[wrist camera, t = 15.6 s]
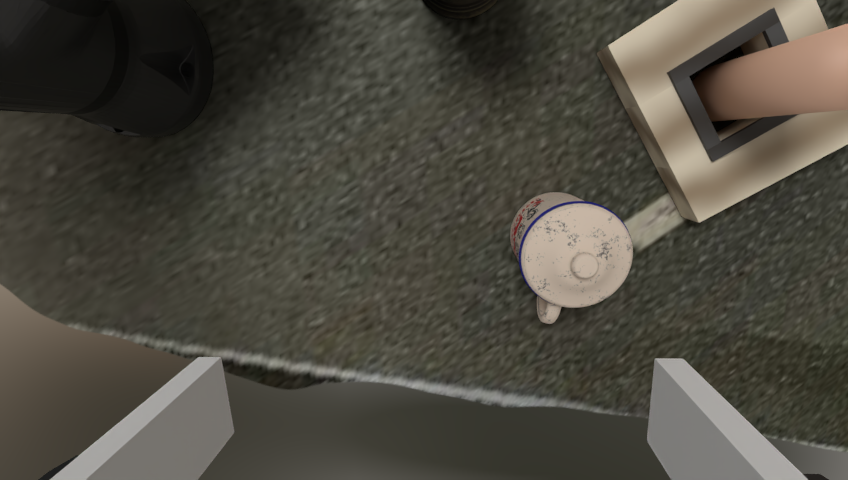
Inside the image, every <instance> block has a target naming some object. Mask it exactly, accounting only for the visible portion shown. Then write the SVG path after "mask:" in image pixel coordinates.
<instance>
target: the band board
mask: <svg viewBox="0 0 848 480" xmlns="http://www.w3.org/2000/svg"><path fill="white" fill-rule="evenodd" d="M826 30H828V27H827V25H826V23H825V20H824V18H823V16H822V13H821V11H820V8H819V6H818V4H817V1H816V0H678V1H676V2H675V3H673V4H672V5H670V6H669V7H667V8H666V9H664V10H662V11H661V12H659V13H658V14H656V15H655V16H653V17H652V18H650V19H649V20H647V21H645V22H644V23H642V24H641V25H639V26H638V27H636V28H635V29H633V30H632V31H630V32H628V33H627V34H625V35H624V36H622V37H621V38H619V39H618V40H616V41H614V42H613V43H611V44H610V45H608V46H607V47H605V48H604V49H602V50H601V51H599V52H598V53H596V54H597V56H598V58H599V59H600V61H601V63H602V65H603V67H604V69H605V71H606V73H607V75H608V77H609V79H610V81H611V82H612V84H613V86H614V88H615V90H616V92H617V94H618V96H619V98H620V100H621V102H622V104H623V105H624V107H625V109H626V111H627V113H628V115H629V117H630V119H631V121H632V123H633V125H634V127H635V128H636V130H637V132H638V134H639V136H640V138H641V140H642V142H643V144H644V146H645V148H646V149H647V151H648V153H649V155H650V157H651V159H652V161H653V163H654V165H655V167H656V169H657V171H658V172H659V174H660V176H661V178H662V180H663V182H664V184H665V186H666V188H667V190H668V192H669V194H670V195H671V197H672V199H673V201H674V203H675V205H676V207H677V209H678V211H679V213H680V215H681V217H683V218H686V219H689V220H692V221H695V222H698V223H700V222H702V221H703V220H705V219H707V218H709V217H711V216H713V215H715V214H717V213H719V212H720V211H722V210H724V209H726V208H728V207H730V206H732V205H734V204H736V203H737V202H739V201H741V200H743V199H745V198H747V197H749V196H751V195H753V194H755V193H756V192H758V191H760V190H762V189H764V188H766V187H768V186H770V185H772V184H773V183H775V182H777V181H779V180H781V179H783V178H785V177H787V176H789V175H790V174H792V173H794V172H796V171H798V170H800V169H802V168H804V167H806V166H807V165H809V164H811V163H813V162H815V161H817V160H819V159H821V158H823V157H824V156H826V155H828V154H830V153H832V152H834V151H836V150H838V149H840V148H841V147H843V146H845V145H847V144H848V110H839V111H828V112H817V113H805V114H794V115H783V116H771V117H760V118H749V119H739V120H737V121H735V122H733V123H732V124H730V125H728V126H726V127H725V128H723V129H721V130H719V131H717V132H716V131H715V129H714V127H713V124H712V122H711V120H710V118H709V116H708V114H707V112H706V110H705V108H704V106H703V104H702V102H701V100H700V98H699V96H698V94H697V92H696V90H695V88H694V86H693V83H692V81H691V79H690V77H689V76H690V75H692V74H694V73H695V72H697V71H699V70H700V69H702V68H704V67H705V66H707V65H709V64H710V63H712V62H713V61H715V60H717V59H718V58H720V57H722V56H723V55H725V54H727V53H728V52H730V51H732V50H733V49H735V48H737V47H738V46H740V47H741V49H742V52H743V54H744V56H745V55H749V54H752V53H755V52H758V51H761V50H765V49H768V48H771V47H774V46H777V45H781V44H784V43H787V42H790V41H794V40H797V39H800V38H803V37H806V36H810V35H813V34H816V33H819V32H822V31H826Z"/></svg>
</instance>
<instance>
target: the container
mask: <svg viewBox="0 0 848 480" xmlns="http://www.w3.org/2000/svg"><path fill="white" fill-rule="evenodd" d="M423 1H424V2H425V3H426V5H427V6H428V7H429V8H431V9H432V10H433V11H434V12H436V13H437V14H439V15H441V16H444V17H447V18H451V19H467V18H472V17H475V16H477V15H480V14H481V13H483V12H485V11H487V10H488V9H489V8H490V7H492V6H493V5H494V4H495V3H496V2H497V1H498V0H423Z"/></svg>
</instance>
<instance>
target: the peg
mask: <svg viewBox="0 0 848 480" xmlns="http://www.w3.org/2000/svg"><path fill="white" fill-rule="evenodd" d="M692 83H693V86H694V88H695V90H696V92H697V94H698V96H699V98H700V100H701V102H702V104H703V106H704V108H705V110H706V112H707V114H708V116H709V118H710V120H711V122H715V121H726V120H737V119H749V118H760V117H771V116H783V115H794V114H805V113H817V112H828V111H839V110H848V24H845V25H842V26H839V27H835V28H832V29H829V30H826V31H822V32H819V33H816V34H813V35H810V36H806V37H803V38H800V39H797V40H794V41H790V42H787V43H784V44H781V45H777V46H774V47H771V48H768V49H765V50H761V51H758V52H755V53H752V54H749V55H745V56H742V57H739V58H736V59H732V60H729V61H726V62H723V63H720V64H716V65H713V66H710V67H708V68H706V69H704V70H703V71H701V72H700V73H699V74H698V75H697V76H696V77H695V79H694V80H693V82H692Z"/></svg>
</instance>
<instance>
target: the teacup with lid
mask: <svg viewBox="0 0 848 480" xmlns="http://www.w3.org/2000/svg"><path fill="white" fill-rule="evenodd" d="M510 241H511V246H512V249H513V252H514V254H515V256H516V258H517V260H518V262H519V266H520V270H521V273H522V276H523V278H524V280H525V282H526V284H527V285H528V286H529V288H530V289H531V290H532V291H533V292H534V293H535V294H536V295H537V313H538V317H539V319H540V321H541V322H543V323H547V324H552V323H554V322H555V321H556V319H557V318H558V316H559V313H560V310H561V307H568V308H579V307H586V306H590V305H593V304H596V303H598V302H600V301H602V300H604V299H606V298H607V297H609V296H610V295H612V294H613V293H614V292H615V291H616V290H617V289H618V288H619V287H620V286H621V284H622V283H623V282H624V280H625V279H626V277H627V275H628V273H629V270H630V267H631V264H632V258H633V247H632V241H631V237H630V234H629V232H628V230H627V228H626V226H625V224H624V223H623V222H622V220H621V219H620V218H619V217H618V216H617V215H616V214H615V213H613V212H612V211H611V210H609V209H607V208H606V207H604V206H601V205H599V204H596V203H592V202H586V201H583V200H581V199H579V198H577V197H575V196H573V195H570V194H566V193H561V192H551V193H545V194H542V195H539V196H536V197H534V198H533V199H531V200H529V201H528V202H527V203H525V204H524V205H523V206H522V207H521V208H520V210H519V211H518V212H517V214H516V216H515V217H514V220H513V222H512V225H511V230H510Z"/></svg>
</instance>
